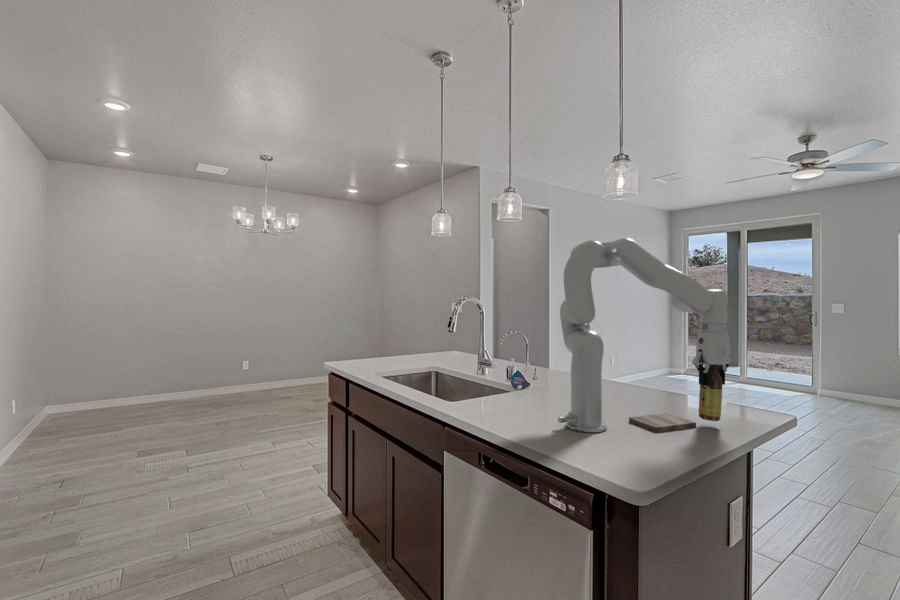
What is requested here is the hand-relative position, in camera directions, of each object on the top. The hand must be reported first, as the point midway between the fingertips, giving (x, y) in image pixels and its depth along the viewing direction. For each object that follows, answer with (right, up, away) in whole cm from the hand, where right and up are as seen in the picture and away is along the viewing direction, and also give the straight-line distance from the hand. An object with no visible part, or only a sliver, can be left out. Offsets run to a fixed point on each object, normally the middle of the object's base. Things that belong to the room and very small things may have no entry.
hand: (711, 383), depth 140 cm
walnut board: (-14, -14, +3) cm, 20 cm away
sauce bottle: (-1, -12, 0) cm, 12 cm away
